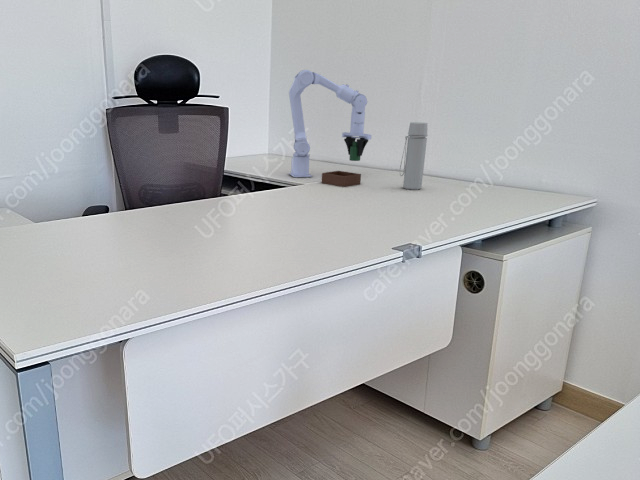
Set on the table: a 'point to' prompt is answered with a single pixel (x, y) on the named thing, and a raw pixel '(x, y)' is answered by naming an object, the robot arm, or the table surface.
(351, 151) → the green bottle
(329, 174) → the tray
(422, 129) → the water bottle
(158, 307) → the table surface
